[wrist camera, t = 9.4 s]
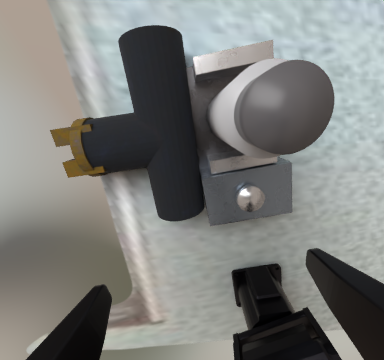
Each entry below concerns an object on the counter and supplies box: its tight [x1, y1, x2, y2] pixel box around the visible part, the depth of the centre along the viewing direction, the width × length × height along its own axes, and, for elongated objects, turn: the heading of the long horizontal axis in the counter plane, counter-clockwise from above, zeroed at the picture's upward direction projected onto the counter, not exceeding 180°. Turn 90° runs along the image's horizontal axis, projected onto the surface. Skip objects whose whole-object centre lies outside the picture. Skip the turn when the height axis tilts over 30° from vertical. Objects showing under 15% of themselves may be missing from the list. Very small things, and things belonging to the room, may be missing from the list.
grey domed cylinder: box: [207, 58, 334, 159], centre depth 13 cm, size 5×5×11 cm
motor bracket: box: [186, 40, 292, 226], centre depth 17 cm, size 15×8×5 cm, turn 11°
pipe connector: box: [50, 25, 204, 221], centre depth 17 cm, size 12×5×15 cm
